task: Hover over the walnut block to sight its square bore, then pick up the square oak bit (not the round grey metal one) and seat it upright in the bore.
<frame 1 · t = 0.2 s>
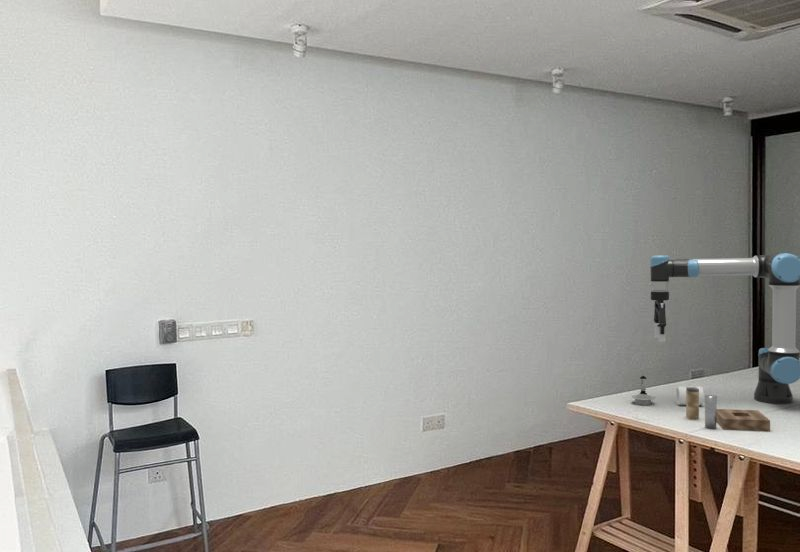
hand: (659, 339, 303), 28 cm above the table, fingers open, 13 cm apart
round bit: (710, 427, 263), on the table
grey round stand: (643, 403, 305), on the table
square bit: (692, 418, 278), on the table
bore block: (741, 424, 266), on the table
mug: (688, 404, 303), on the table
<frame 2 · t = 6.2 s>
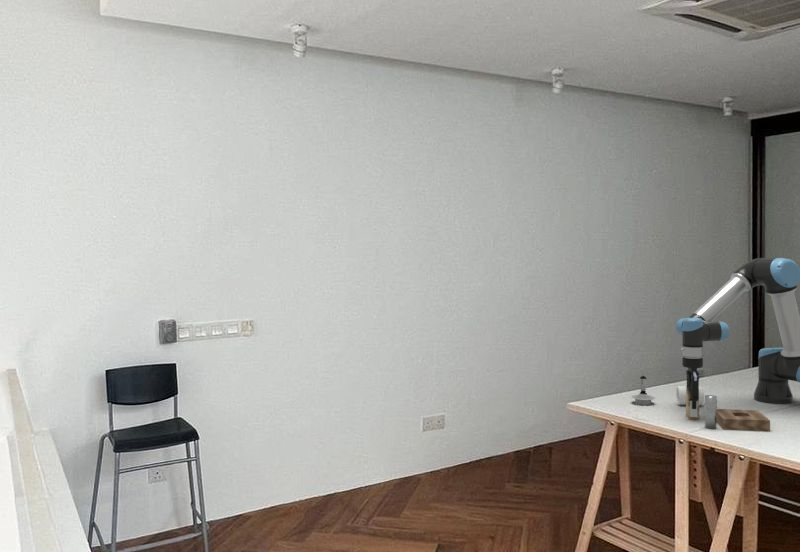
hand: (692, 415, 278), 1 cm above the table, fingers closed on square bit, 4 cm apart
square bit: (692, 418, 278), on the table, touching gripper
everything else where it was.
when the fingers open (5 cm above the table, at t = 11.0 s): square bit drops 4 cm, resting in bore block.
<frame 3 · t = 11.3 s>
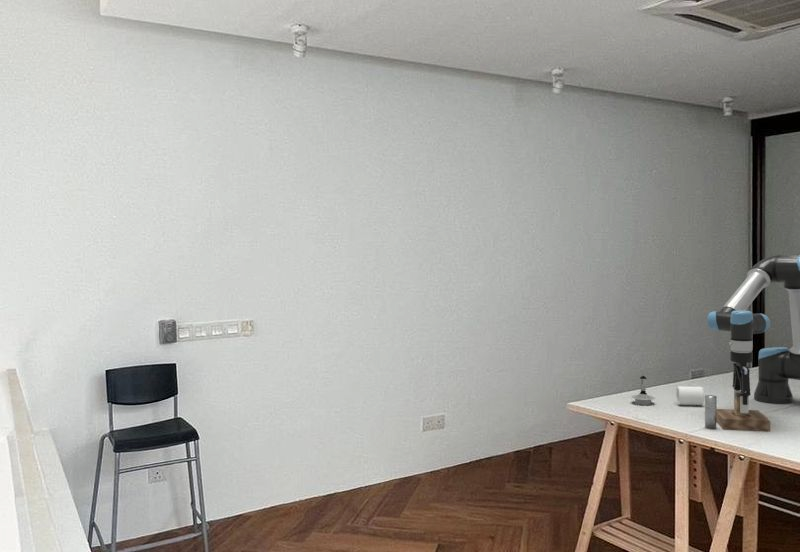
hand: (741, 410, 266), 6 cm above the table, fingers open, 9 cm apart
square bit: (740, 424, 267), resting in bore block
everything else where it was.
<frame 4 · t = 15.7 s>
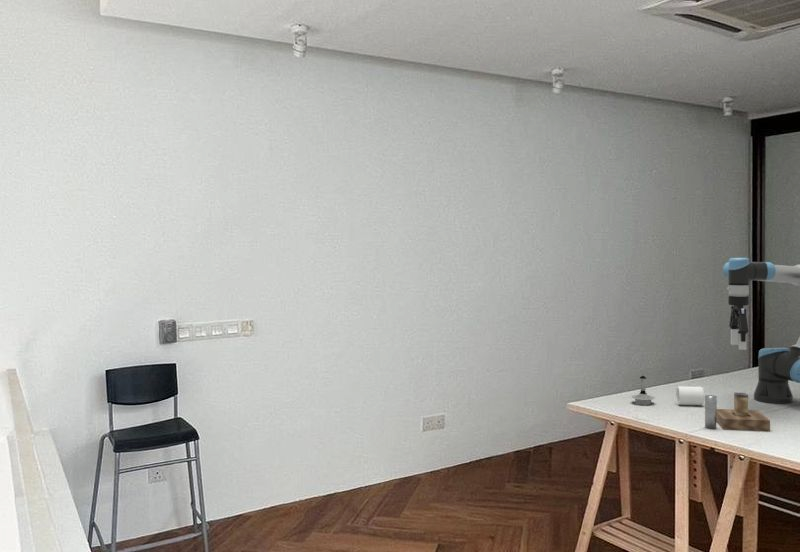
hand: (738, 347, 286), 27 cm above the table, fingers open, 13 cm apart
nothing on the table moved.
at the end: square bit 0.1 cm off-centre on the bore block, point 0.0 cm above the bore block's base; square bit tilted 0°; the gripper is holding nothing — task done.
